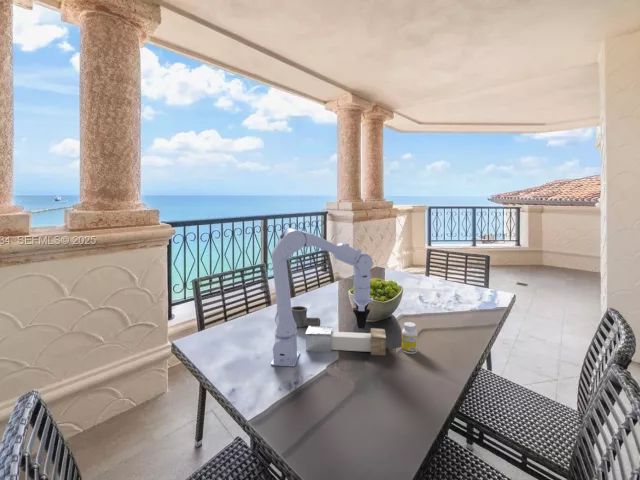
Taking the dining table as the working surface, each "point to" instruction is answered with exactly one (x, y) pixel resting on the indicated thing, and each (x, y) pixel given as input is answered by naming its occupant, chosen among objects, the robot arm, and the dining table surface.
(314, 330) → the sleeve
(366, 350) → the long white bar
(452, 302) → the dining table surface
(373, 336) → the socket
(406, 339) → the supplement bottle
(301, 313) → the pipe
